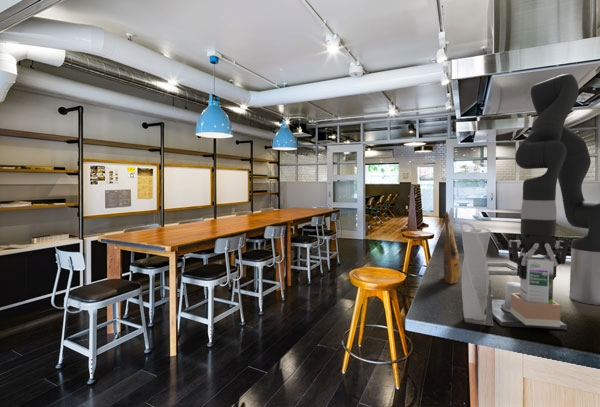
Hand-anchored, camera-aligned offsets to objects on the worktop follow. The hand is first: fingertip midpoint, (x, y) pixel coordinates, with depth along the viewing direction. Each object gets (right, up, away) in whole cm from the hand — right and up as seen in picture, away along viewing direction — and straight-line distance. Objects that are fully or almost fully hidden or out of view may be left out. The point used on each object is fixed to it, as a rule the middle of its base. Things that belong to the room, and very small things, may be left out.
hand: (536, 278), depth 85 cm
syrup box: (0, -9, 0) cm, 9 cm away
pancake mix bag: (-1, -11, +46) cm, 48 cm away
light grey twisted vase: (-13, -14, +7) cm, 20 cm away
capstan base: (+1, -13, +10) cm, 16 cm away
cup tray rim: (+27, -10, +60) cm, 67 cm away
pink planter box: (+1, -11, +5) cm, 12 cm away
